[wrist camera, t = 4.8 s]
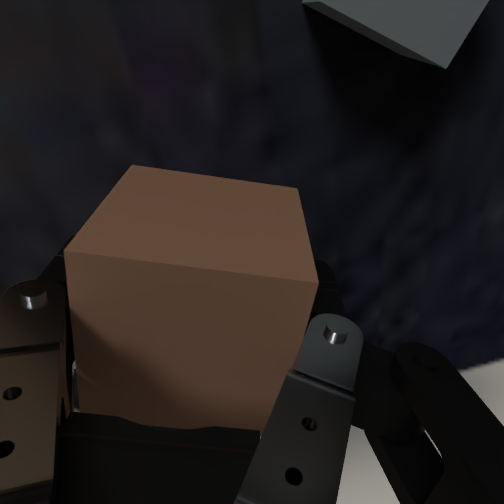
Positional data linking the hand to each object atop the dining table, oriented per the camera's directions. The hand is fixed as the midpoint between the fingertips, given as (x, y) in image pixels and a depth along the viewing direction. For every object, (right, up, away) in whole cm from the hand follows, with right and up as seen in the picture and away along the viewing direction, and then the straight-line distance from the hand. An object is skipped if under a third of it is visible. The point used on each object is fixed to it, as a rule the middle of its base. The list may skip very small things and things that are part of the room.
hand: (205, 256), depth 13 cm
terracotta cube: (0, 0, 0) cm, 1 cm away
